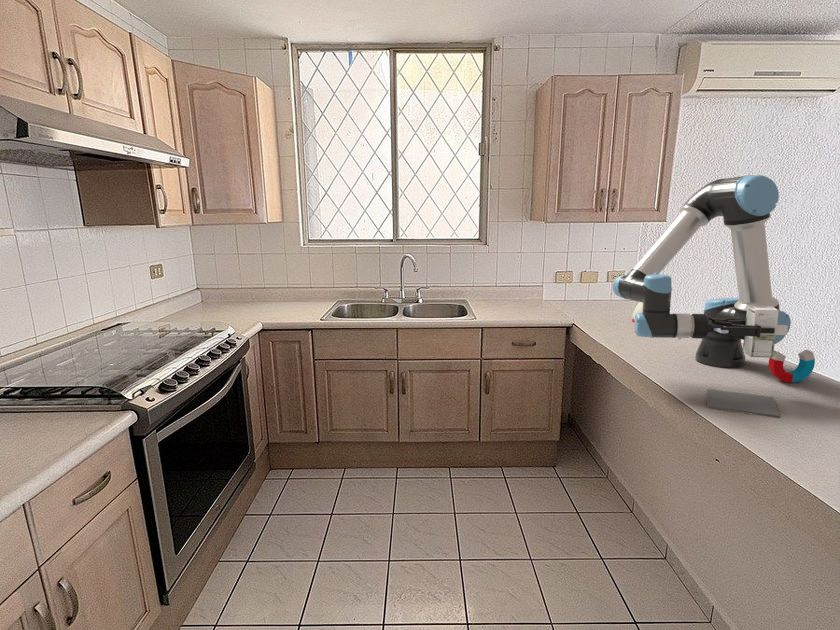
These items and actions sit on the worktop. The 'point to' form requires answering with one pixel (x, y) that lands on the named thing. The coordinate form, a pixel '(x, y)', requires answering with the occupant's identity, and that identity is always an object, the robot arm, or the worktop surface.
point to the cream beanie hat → (637, 310)
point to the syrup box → (765, 342)
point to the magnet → (797, 374)
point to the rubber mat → (742, 402)
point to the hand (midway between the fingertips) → (781, 327)
